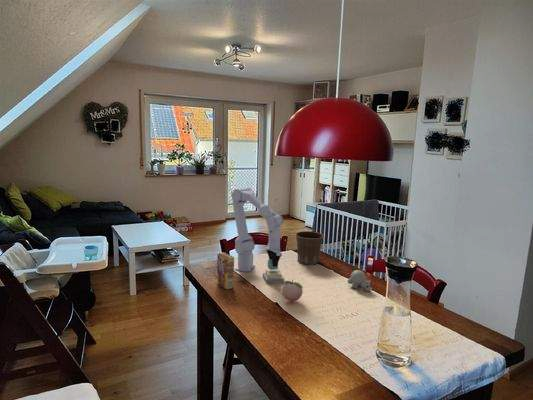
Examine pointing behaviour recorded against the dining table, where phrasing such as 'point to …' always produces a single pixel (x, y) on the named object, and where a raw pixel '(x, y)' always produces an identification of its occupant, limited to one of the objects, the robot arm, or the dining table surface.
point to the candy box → (225, 270)
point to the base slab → (272, 279)
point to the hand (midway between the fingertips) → (273, 264)
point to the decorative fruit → (292, 290)
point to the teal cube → (271, 265)
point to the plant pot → (308, 246)
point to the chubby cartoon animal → (359, 280)
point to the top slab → (273, 274)
